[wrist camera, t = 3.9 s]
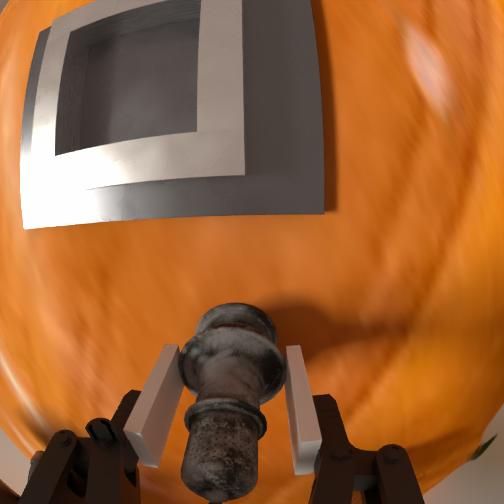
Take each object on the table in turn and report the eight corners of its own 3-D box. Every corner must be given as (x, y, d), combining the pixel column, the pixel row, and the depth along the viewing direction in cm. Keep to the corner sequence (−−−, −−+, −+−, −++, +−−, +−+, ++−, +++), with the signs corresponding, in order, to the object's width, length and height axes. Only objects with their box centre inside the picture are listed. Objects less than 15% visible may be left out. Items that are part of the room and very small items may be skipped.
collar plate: (32, 226, 16) (1, 236, 12) (46, 36, 12) (21, 23, 8) (320, 212, 15) (337, 221, 12) (304, -16, 11) (312, -46, 8)
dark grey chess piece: (174, 342, 18) (106, 497, 6) (225, 279, 16) (173, 459, 5) (244, 386, 18) (235, 541, 7) (300, 332, 17) (343, 506, 5)
